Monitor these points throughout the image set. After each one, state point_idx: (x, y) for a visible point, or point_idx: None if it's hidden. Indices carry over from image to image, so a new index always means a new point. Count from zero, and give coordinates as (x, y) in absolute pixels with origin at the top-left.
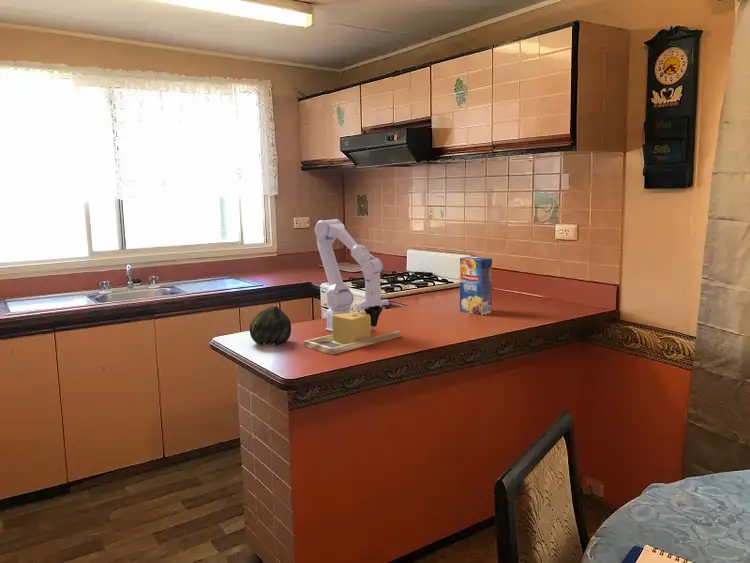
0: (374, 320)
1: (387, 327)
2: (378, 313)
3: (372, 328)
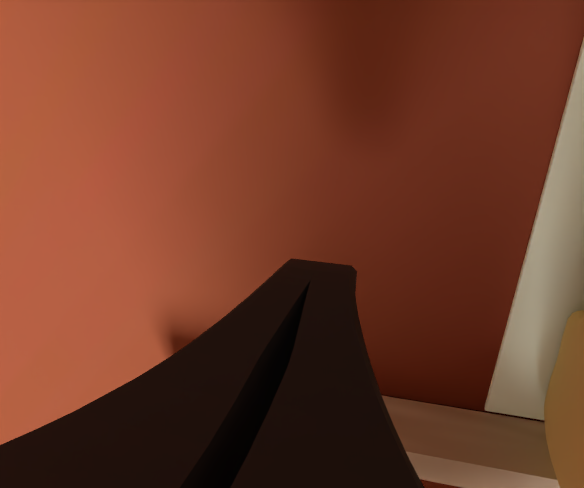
0: (348, 334)
1: (15, 321)
2: (145, 441)
3: None
